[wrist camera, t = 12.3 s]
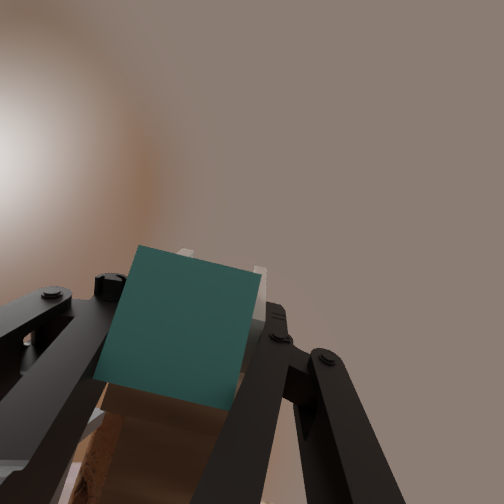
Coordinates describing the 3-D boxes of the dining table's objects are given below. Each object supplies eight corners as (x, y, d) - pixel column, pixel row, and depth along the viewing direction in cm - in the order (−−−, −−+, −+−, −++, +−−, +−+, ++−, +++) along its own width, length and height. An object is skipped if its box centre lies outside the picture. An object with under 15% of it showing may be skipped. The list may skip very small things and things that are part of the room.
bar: (231, 411, 8) (261, 274, 9) (92, 378, 8) (138, 244, 9) (233, 336, 35) (241, 305, 36) (203, 329, 35) (211, 298, 36)
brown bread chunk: (140, 511, 46) (174, 386, 51) (129, 548, 39) (170, 399, 44) (73, 503, 45) (115, 375, 50) (49, 540, 38) (100, 387, 42)
